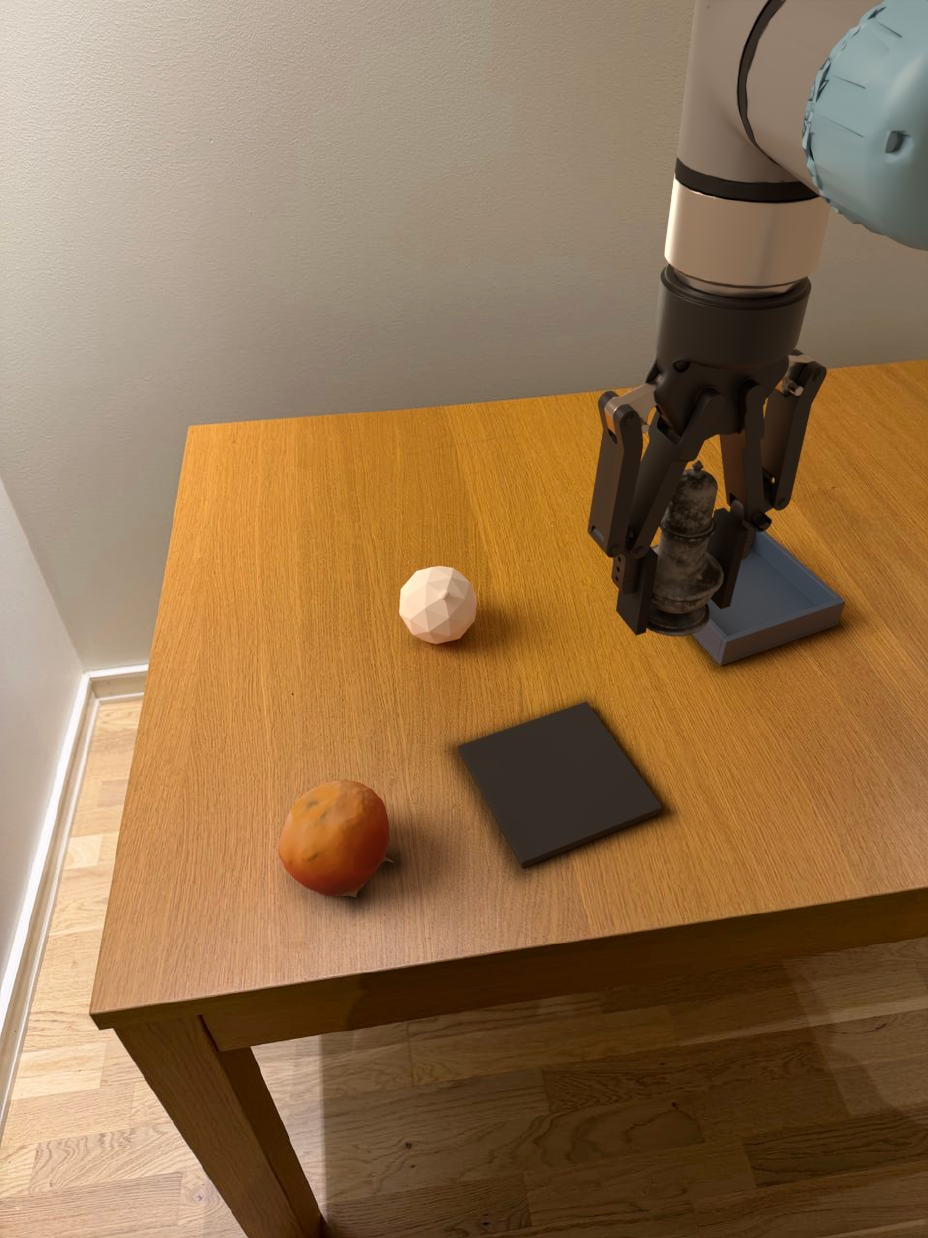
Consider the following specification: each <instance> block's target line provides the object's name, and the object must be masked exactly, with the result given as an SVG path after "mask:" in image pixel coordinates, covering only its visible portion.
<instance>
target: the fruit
mask: <svg viewBox="0 0 928 1238" xmlns="http://www.w3.org/2000/svg"><path fill="white" fill-rule="evenodd" d="M389 844H390V822H389V817H388V812H387V808H386V804H385V802H384V801H383V799H382V798H381V797H380V796H379V795H378V794H377V793H376V791H374V789H373V788H371V787H369V786H367V785H365V784H363V783H361V782H359V781H355V780H349V779H346V778H345V779H344V778H343V779H331V780H329V781H327V782H325V783H323V784H320V785H317V786H315V787H312V788H311V789H310V790H308V791H307V792H306V793H303V795H301V796H300V797H299V798H298V800H297V801H296V803H294V805H293V806H292V808H290V810H289V812H288V815H287V817H286V819H285V823H284V826H283V828H282V832H281V834H280V837H279V841H278V849H277V854H278V857H279V859H280V860H281V862H282V865H283V868H284V869H285V870H286V872H287V873H288V874H289V875H290V876H291V877H292V878H293V879H294V880H295V881H296V882H297V883H299V884H300V885H301V886H303V887H304V888H306V889H308V890H310V891H313V892H316V893H318V894H320V895H323V896H324V897H345V896H346V897H347V896H348V897H354V898H355V899H357V896H358V893H359V891H360V890H361V889H363V887H364V886H365V884H367V883H368V882H369V880H370V879H372V877H373V876H374V875H375V874H376V872H377V871H378V869H379V867H380V866H381V864H383V863H385V862H388V863H392V864H393V863H394V861H393V860H391V859H389V858H388V857H386V856H387V850H388V846H389Z"/></svg>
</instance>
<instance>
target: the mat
mask: <svg viewBox="0 0 928 1238" xmlns="http://www.w3.org/2000/svg"><path fill="white" fill-rule="evenodd" d="M615 740H616V739H615V738H614V737H613V735H611V733H610V732H609V730H608V729H607V727H606V726H605V725H604V723H603V722H602V721H601V719H600V718H599V717H598V715H597V713H596V712H595V711H594V710H593V708H592V707H591V706H590V704H589V703H588V701H583V702H580V703H577V704H575V705H572V706H570V707H565V708H564V709H561V710H558V711H555V712H552V713H549V714H547V715H543V716H541V717H537V718H535V719H532V720H529V721H526V722H523V723H520V724H517V725H514V726H511V727H508V728H506V729H503V730H500V731H496V732H494V733H491V734H489V735H485V736H483V737H480V738H477V739H473V740H471V741H468V742H465V743H462V744H459V745H458V748H457V749H458V751H457V752H458V754H459V755H460V757H461V759H462V761H463V763H464V764H465V766H466V768H467V770H468V772H469V774H470V775H471V777H472V779H473V782H474V783H475V785H476V786H477V789H478V791H479V792H480V795H481V796H482V798H483V800H484V801H485V803H486V805H487V808H488V809H489V811H490V812H491V814H492V816H493V818H494V820H495V821H496V824H497V825H498V827H499V829H500V831H501V833H502V834H503V836H504V838H505V840H506V842H507V843H508V846H509V847H510V849H511V851H512V853H513V855H514V857H515V858H516V860H517V862H518V864H519V866H520V868H521V869H523V868H526V867H529V866H532V865H534V864H537V863H539V862H542V861H543V860H546V859H549V858H551V857H554V856H556V855H559V854H561V853H564V852H566V851H569V850H572V849H574V848H576V847H580V846H581V845H584V844H586V843H590V842H592V841H594V840H597V839H599V838H602V837H605V836H607V835H610V834H613V833H615V832H618V831H619V830H623V829H625V828H627V827H631V826H632V825H635V824H637V823H640V822H643V821H645V820H648V819H650V818H653V817H656V816H658V815H661V814H662V813H663V805H662V804H661V803H660V801H659V800H658V799H657V797H656V796H655V794H654V792H652V790H651V789H650V788H649V786H648V784H647V783H646V782H645V780H644V779H643V778H642V777H641V775H640V774H639V772H638V771H637V769H636V768H635V766H634V765H633V764H632V762H631V761H630V760H629V758H628V756H627V755H626V754H625V752H623V749H622V748H621V747H620V746H619V744H618V743H617V742H616V741H615Z"/></svg>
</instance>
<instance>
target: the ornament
mask: <svg viewBox="0 0 928 1238" xmlns="http://www.w3.org/2000/svg"><path fill="white" fill-rule="evenodd" d="M399 596H400V597H399V610H398V611H399V612H398V614H399V615H400V617H401V619H402V620H403V622H404V624H405V625H406V627H407V629H408V630H409V632H410V633H411V634H412V636H414V637H416V638H418V639H419V640H420V641H423V642H426V643H430V644H433V645H438V644H442V643H447V642H452V641H456V640H460V639H461V638H462V636H464V634H465V633H466V632H467V630H468V629H469V628H470V627H471V625H472V624H473V623H475V621H476V616H477V607H478V605H477V604H478V602H477V595H476V592H475V590H474V588H473V585H472V584H471V582H470V581H469V580H468V578H466V577H465V576H464V575H463V574H462V573H461V572H459V571H458V570H457V569H455V568H454V567H451V566H450V567H449V566H444V565H438V566H437V565H436V566H431V567H427V568H422V569H420V570H416V571H415V572H414V574H413V575H412V576H411V577H410V578H409V579H408V580H407V581H406V583H405V584H403V586H402V587H401V588H400V595H399Z"/></svg>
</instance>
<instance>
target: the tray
mask: <svg viewBox="0 0 928 1238" xmlns="http://www.w3.org/2000/svg"><path fill="white" fill-rule="evenodd" d="M846 602H847V600H845V599H844V598H843V597H841V596H840V595H839V594H838V593H837V592H836V591H835V590H834V589H832V588H831V587H830V585H828V584H827V583H825V581H824V580H822V579H821V578H820V577H818V576H817V575H816V573H814V572H813V571H812V570H810V568H808V567H807V566H806V565H805V564H804V563H803V562H802V561H801V560H799V559H798V558H797V557H796V556H795V555H793V554H792V553H791V552H790V551H789V550H787V548H786V547H784V546H783V545H782V543H780V542H779V541H778V540H777V539H776V538H774V537H773V536H772V535H770V533H768V532H767V530H765V531H764V532H757V531H756V530H755V533H754V537H753V540H752V545H751V549H750V552H749V554H748V556H747V557H746V559H743V560H741V564H740V568H739V572H738V576H737V580H736V584H735V588H734V592H733V596H732V600H731V605H730V607H727V608H724V609H720V608H719V607H718V606H717V605H716V604H715V603H714V602H713V601H712V600H711V599H710V600H709V601H708V602H707V604H708V606H709V610H710V618H709V621H708V623H707V625H706V626H705V627H704V628H703V629H702V630H700V631H699V632H696V633H694V634H692V635H691V636H693V638H694V639H695V640H696V641H697V642H698V644H700V646H701V647H703V649H704V650H705V651H706V652H707V654H709V655H710V656H711V657H712V658H713V660H714V661H715V662H716V663H717V664H718V666H720V667H721V666H724V665H727V664H730V663H733V662H736V661H738V660H742V659H745V658H748V657H750V656H754V655H756V654H758V653H759V654H760V653H761V652H765V651H768V650H770V649H773V648H776V647H778V646H782V645H784V644H787V643H790V642H794V641H796V640H799V639H801V638H805V637H807V636H810V635H813V634H816V633H819V632H821V631H824V630H828V629H830V628H833V627H836V626H838V624H839V622H840V619H841V617H842V613H843V610H844V608H845V606H846Z"/></svg>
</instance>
